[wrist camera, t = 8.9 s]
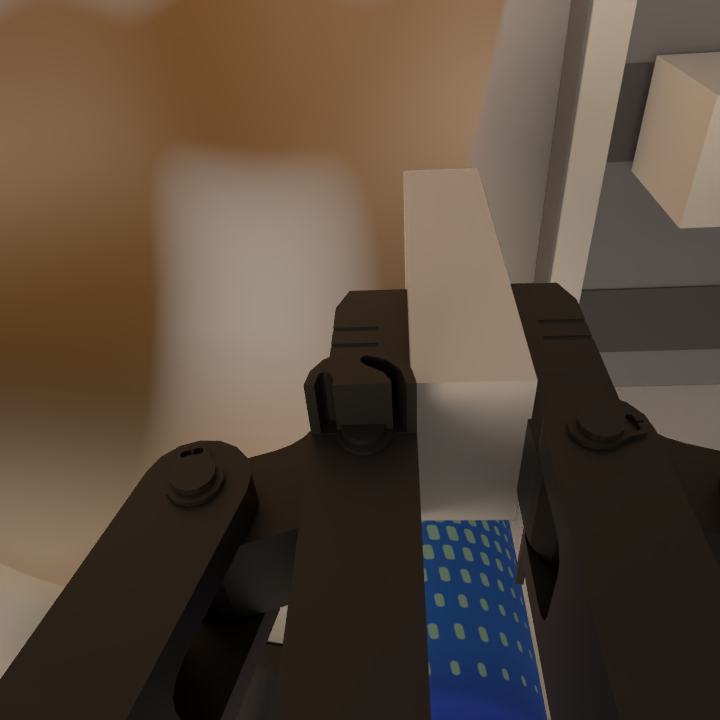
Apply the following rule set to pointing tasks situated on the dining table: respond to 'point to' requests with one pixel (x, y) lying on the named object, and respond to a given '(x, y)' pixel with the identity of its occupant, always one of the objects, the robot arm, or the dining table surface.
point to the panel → (628, 199)
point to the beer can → (477, 624)
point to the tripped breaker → (683, 139)
